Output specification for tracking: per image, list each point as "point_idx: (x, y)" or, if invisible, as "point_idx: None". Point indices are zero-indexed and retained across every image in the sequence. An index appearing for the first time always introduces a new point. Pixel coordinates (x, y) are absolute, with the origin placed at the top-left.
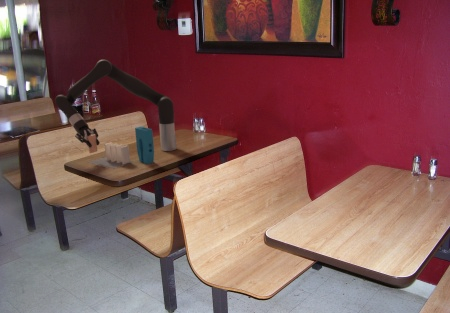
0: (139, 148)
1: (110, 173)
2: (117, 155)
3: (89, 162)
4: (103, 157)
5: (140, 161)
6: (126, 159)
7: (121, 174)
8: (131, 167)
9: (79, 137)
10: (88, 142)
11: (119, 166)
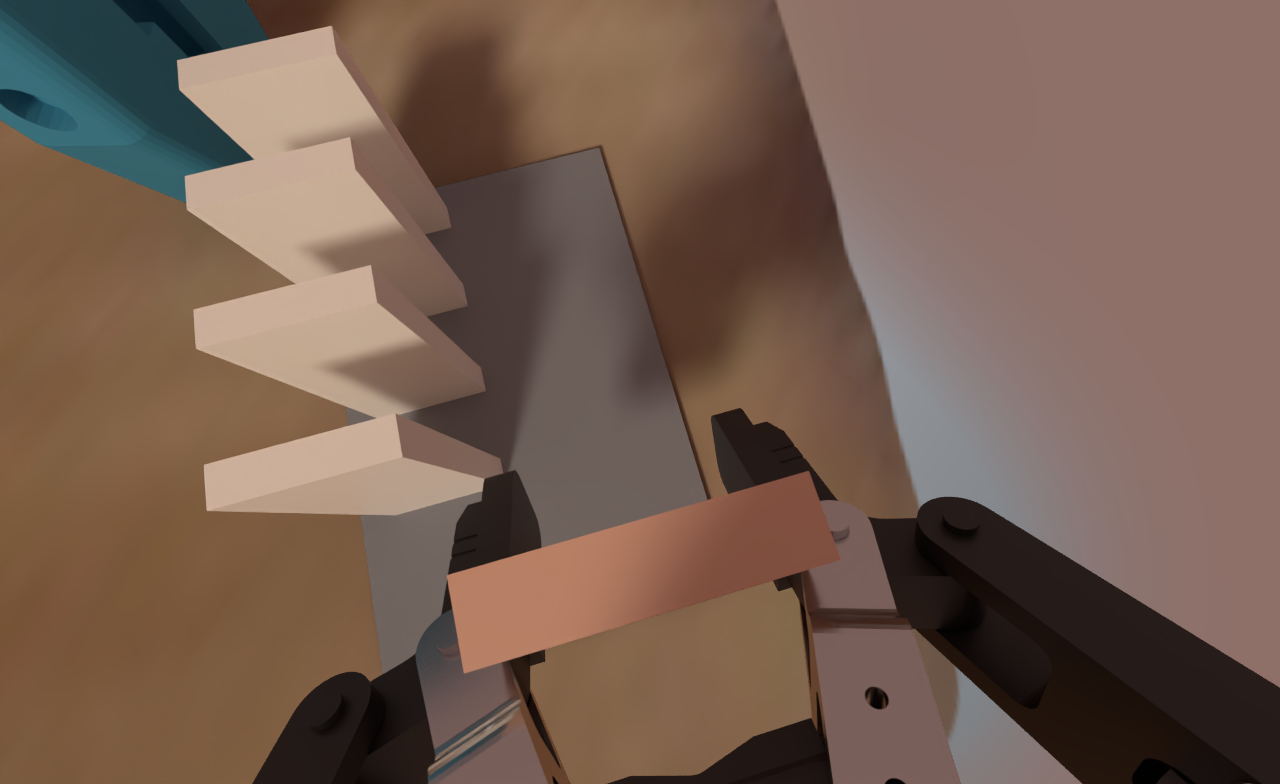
0: (125, 23)
1: (683, 83)
2: (423, 233)
3: None
4: None
5: None
6: None
7: (621, 3)
8: (444, 101)
9: (1178, 658)
10: None
11: (519, 176)
